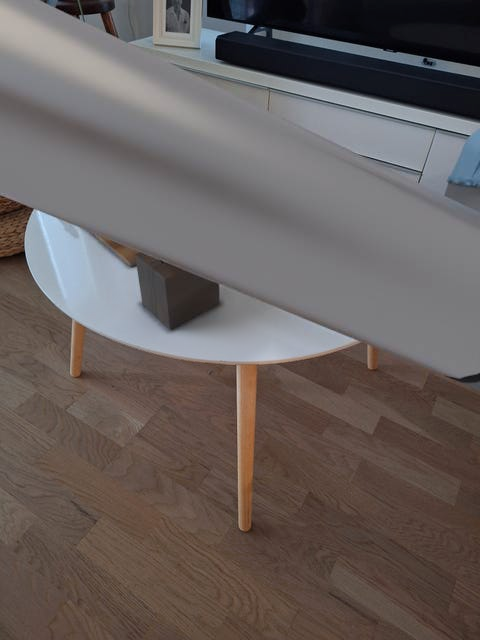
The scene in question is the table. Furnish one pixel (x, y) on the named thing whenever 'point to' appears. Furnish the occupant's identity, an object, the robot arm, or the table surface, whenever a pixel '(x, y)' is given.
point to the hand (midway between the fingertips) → (215, 190)
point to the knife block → (173, 291)
